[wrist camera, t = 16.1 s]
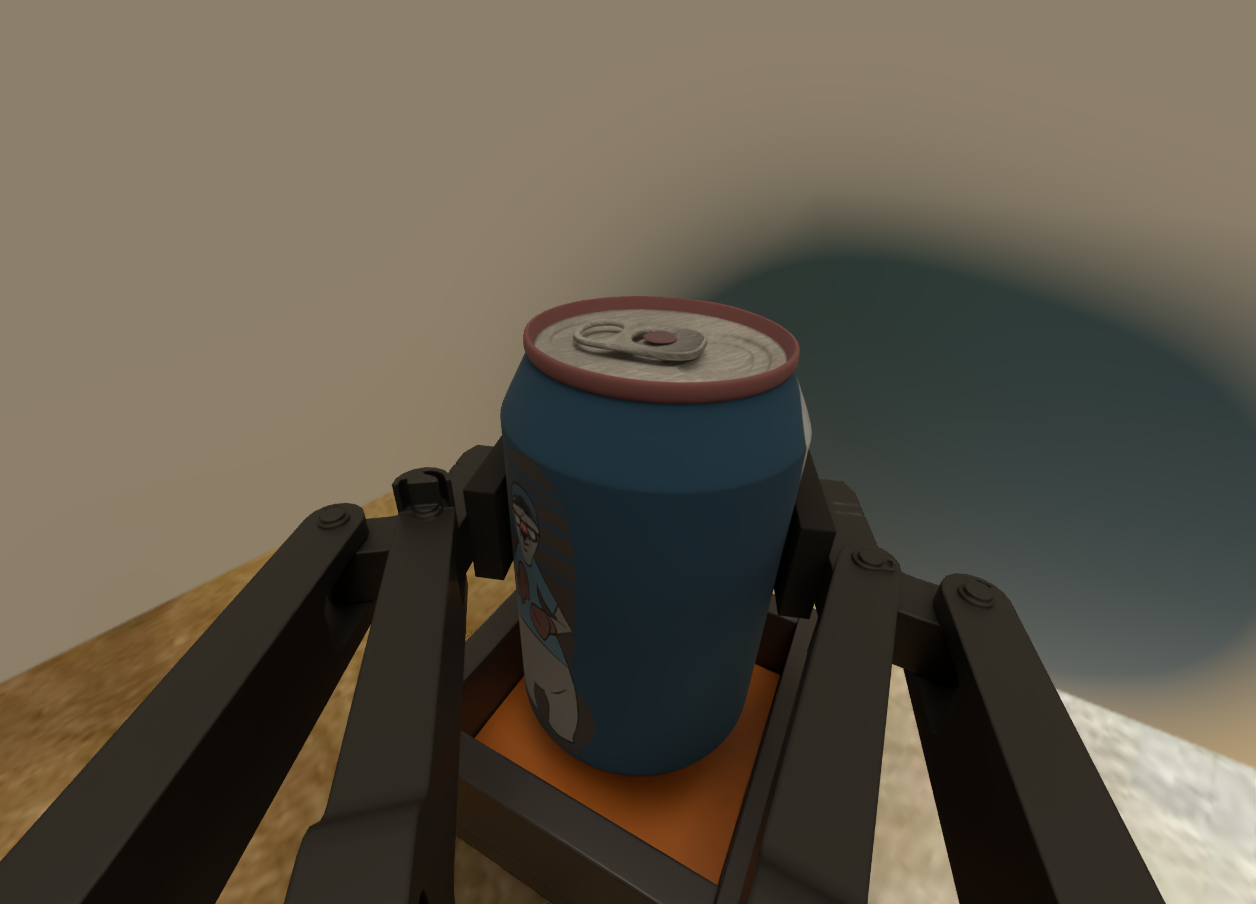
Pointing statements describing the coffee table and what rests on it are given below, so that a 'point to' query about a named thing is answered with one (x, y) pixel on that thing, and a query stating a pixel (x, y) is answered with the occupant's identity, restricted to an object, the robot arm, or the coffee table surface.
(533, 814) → the square wooden tray
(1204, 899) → the coffee table surface
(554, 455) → the soda can
